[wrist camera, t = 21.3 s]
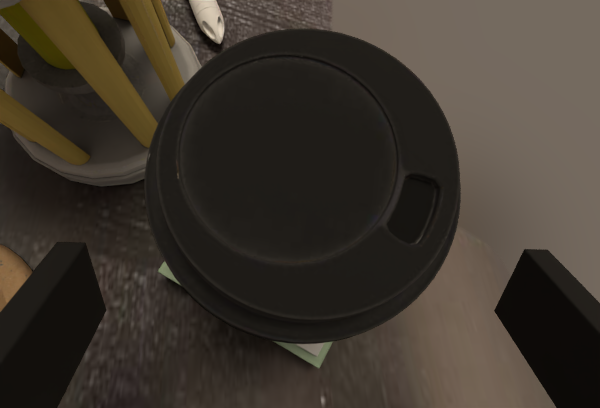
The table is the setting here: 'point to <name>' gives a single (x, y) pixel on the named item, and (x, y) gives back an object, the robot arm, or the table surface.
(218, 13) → the white cylindrical rod
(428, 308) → the table surface
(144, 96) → the lantern
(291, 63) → the coffee cup
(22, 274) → the candle holder
